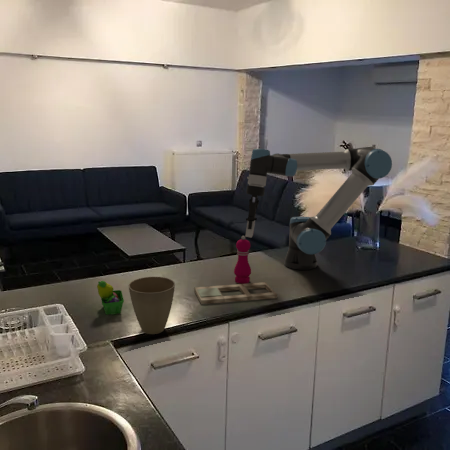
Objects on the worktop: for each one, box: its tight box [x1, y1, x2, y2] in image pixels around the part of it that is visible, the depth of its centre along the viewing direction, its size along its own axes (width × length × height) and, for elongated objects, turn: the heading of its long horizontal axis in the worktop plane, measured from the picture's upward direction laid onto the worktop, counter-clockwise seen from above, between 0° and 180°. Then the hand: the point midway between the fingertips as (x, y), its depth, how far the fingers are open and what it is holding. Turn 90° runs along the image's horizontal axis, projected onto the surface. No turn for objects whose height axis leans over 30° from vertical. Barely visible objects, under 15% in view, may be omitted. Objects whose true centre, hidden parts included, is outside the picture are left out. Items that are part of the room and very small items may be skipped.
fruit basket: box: [96, 280, 125, 316], centre depth 181 cm, size 11×9×11 cm
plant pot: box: [128, 276, 176, 335], centre depth 165 cm, size 15×15×16 cm
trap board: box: [193, 281, 278, 305], centre depth 198 cm, size 30×14×2 cm, turn 104°
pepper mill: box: [233, 235, 252, 284], centre depth 211 cm, size 7×7×20 cm
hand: (249, 236), depth 212 cm, fingers open, 13 cm apart
